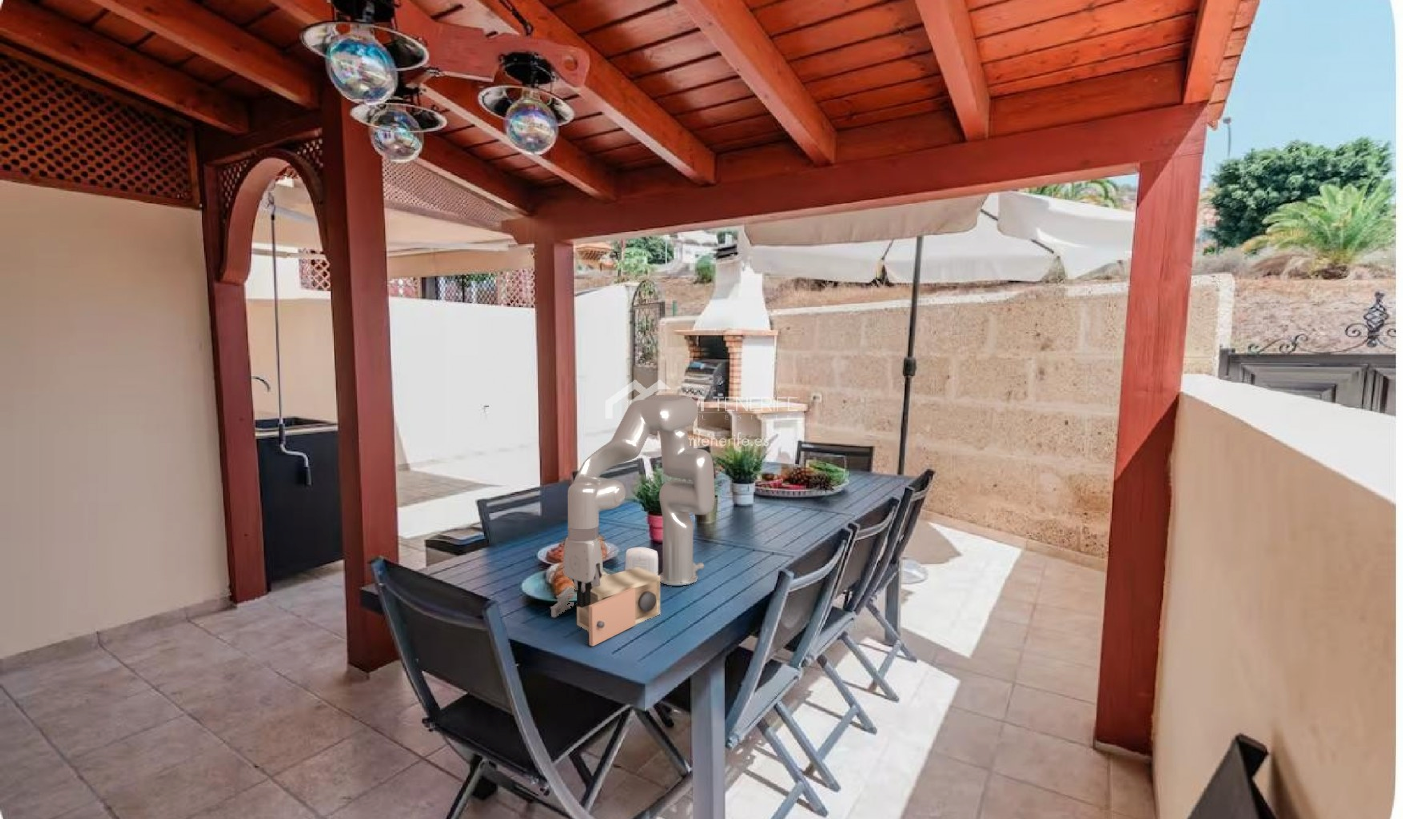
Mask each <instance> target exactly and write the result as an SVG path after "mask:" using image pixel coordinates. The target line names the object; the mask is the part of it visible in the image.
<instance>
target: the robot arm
mask: <svg viewBox="0 0 1403 819" xmlns="http://www.w3.org/2000/svg"><path fill="white" fill-rule="evenodd" d="M698 408H699V407H698V404H697V402H696V401H695V399H693V397H691V396H680V395H667V394H666V395H663V394H662V395H659V394H654V395H649V396H646V397H645V398H644V399H639V400H635V401H633V402H631V403H630V405H629V406H628V408H627V409H626V410H625V413H624V415H623V416H622V419H621V421H620V423H619V424H618V426H617V428H616V430H615V433H614V435H613V436H612V438H611V440H610V441H609V442H607V443H606V444H604V445H603V446H601V447H600V448H598V449H597V450H596V451H594V452H593V453H591V455H589V456H588V457H587V458H586V459H585V460H584V462H583V463H582V464H581V467H580V468H579V469H578V472H577V473H576V475H575V478H574V480H573V483H572V484H571V485H570V486H568V488H567V536H566V538H565V542H564V546H563V547H564V548H563V556H562V558H563V560H562V573H563V575H564V576H565V577H566V578H568V579H569V580H571V581H572V582H573V586H575V590H577V603H576V607H577V606H578V607H581V608H583V607H585V606H588V605H590V603H591V590H592V588H593V587H597V586H600V578H601V577H603V572H604V568H603V564H604V563H603V553H602V545H601V540H600V517H599V516H600V511H603V510H611V509H616V508H618V507H620V505H621V506H622V504H623V502H624V501H625V499H626V495H627V491H626V487H625V485H624V484H623V483H622V482H621V481H619V480H618V479H617V480H616V479H612V478H605V477H600V476H602V474H603V473H604V472H606V471H607V470H609V469H610V468H613V467H615V466H618V465H621V464H623V463H624V464H625V463H627V462H629V461H631V460H635V459H636V458H637V457H639V456H640V454H641V452H642V450H643V448H644V445H645V443H646V441H647V439H648V437H649V435H650V433H651V432H653V431H654V432H658V433H659V438H660V454H661V466H662V471H663V473H664V474H665V475H666V476H667V477H670V478H674V479H680V480H670V481H666V482H665V483H664V484H662V486H660V490H659V495H658V496H659V504H660V508H661V516H662V572H661V573H658V575H659V576H660V582H661V583H664V584H667V585H686V584H690V583H693V582H696V581H697V579H698V580H699V576H698V574H697V573H696V572H697V571H698V570H702V569H704V568H705V565H704V562H699V563H697V564H696V563H695V562H694V524H693V521H692V517H691V516H690V514H691V515H697V516H698V515H699V516H705V515H709V514H710V513H711V512H712V511H713V508H714V507H715V501H716V499H715V498H716V497H715V496H716V494H715V491H716V490H715V489H716V488H715V473H714V472H715V470H714V461H713V458H712V455H711V454H710V453H709V451H707V450H705V449H702V448H695V447H694V448H692V447H691V446H690V442H689V434H688V430H687V427H690V426H691V425H692V424H694V422H695V421H696V420H697V418H698V413H699V409H698ZM681 479H682V480H681ZM683 479H684V481H683ZM685 480H691V481H685ZM697 582H698V581H697ZM697 582H696V583H697ZM661 583H660V584H661Z"/></svg>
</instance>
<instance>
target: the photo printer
mask: <svg viewBox="0 0 1403 819" xmlns="http://www.w3.org/2000/svg"><path fill="white" fill-rule="evenodd" d="M624 566H625V568H624V569H625V570H629V569H632V568H636V567H639V568H642V569H644V570H647V571H649V572H652V573H654V574H656V575H659V554H658V551H657V550H655V549H652V548H649V547H645V546H644V547H643V546H638V547H635V546H634V547H631V548H630V547H629V548H628V549H626V553H625V565H624ZM625 570H624V571H625Z"/></svg>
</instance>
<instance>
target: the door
mask: <svg viewBox="0 0 1403 819" xmlns="http://www.w3.org/2000/svg"><path fill="white" fill-rule="evenodd" d="M635 626H636V624H635V588H630V589H627V590H625V591H622V592H620V593H618V594H615V595H613V596H611V597H608V598H606V599H604V600H601V601H599V602H597V603H594V604H592V605H590V606H589V632H588V635H589V636H588V637H589V638H588V640H589V644H588V645H589V646H591V647H594V646H596V645H598V644H600V643H603V642H604V641H606V640H608V639H610V638H613V637H614V636H616V635H618V634H619V635H620V633H623V632H625V631H626V630H628V629H630V628H633V627H635Z"/></svg>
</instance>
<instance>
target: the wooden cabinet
mask: <svg viewBox="0 0 1403 819" xmlns="http://www.w3.org/2000/svg"><path fill="white" fill-rule="evenodd" d="M630 588H635V625H638V624H640V623H643V622H645V620H646V621H648V620H647V619H649V618H651V619H654V618H656V617H655V616H657V615H659V614H660V615H661V583H660V576H659V574H658V575H656V574H654V573H652V572H649V571H647V570H644V569H642V568H639V567H636V568H632V569H629V570H622V571H619V572H615V573H612V574H611V573H610V574H609V575H608V574H607V575H605V576H602V577H601V578H600V586H597V587H593V588H592V590H591V603H590V605H592V604H594V603H597V602H599V601H601V600H604V599H606V598H608V597H611V596H613V595H615V594H618V593H620V592H622V591H625V590H627V589H630ZM590 605H588V606H585V607H583V608H581V607H578V606H577V605H576V625H577V626H578V627H579V628H581V627H582V629H583V630H585V631H586V630H587V632H588V633H589V606H590ZM653 617H654V618H653ZM657 617H658V616H657ZM649 620H650V619H649Z"/></svg>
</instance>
